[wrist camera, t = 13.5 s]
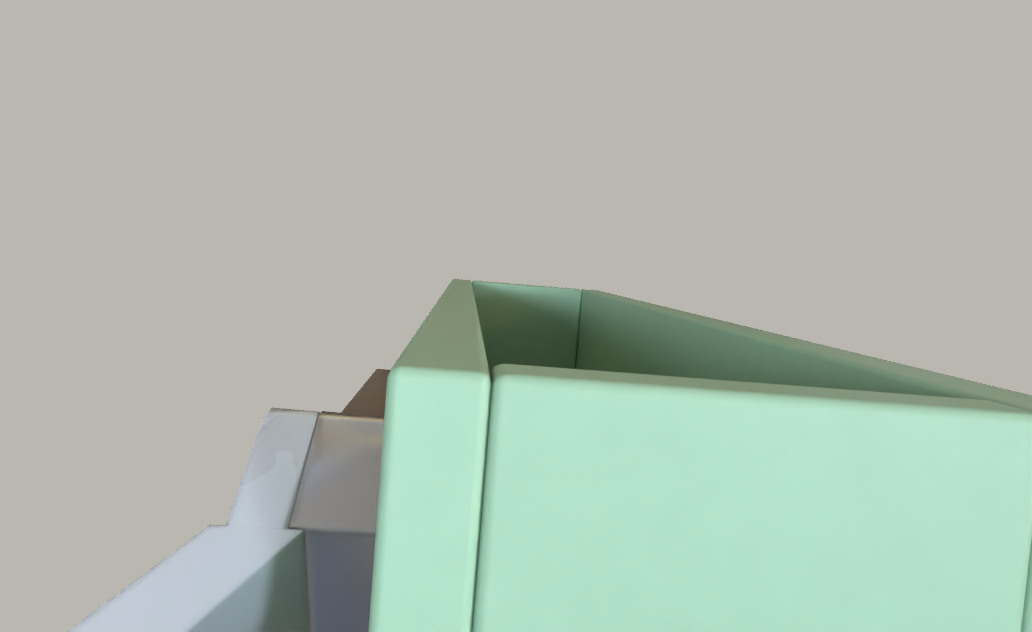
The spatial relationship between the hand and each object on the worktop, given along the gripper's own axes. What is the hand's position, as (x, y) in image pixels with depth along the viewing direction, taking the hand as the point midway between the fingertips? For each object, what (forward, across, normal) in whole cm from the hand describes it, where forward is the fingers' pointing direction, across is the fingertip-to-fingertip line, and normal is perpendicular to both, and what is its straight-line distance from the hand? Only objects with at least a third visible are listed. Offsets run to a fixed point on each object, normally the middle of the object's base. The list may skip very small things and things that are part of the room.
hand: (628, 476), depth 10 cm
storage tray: (+5, 0, -6) cm, 7 cm away
